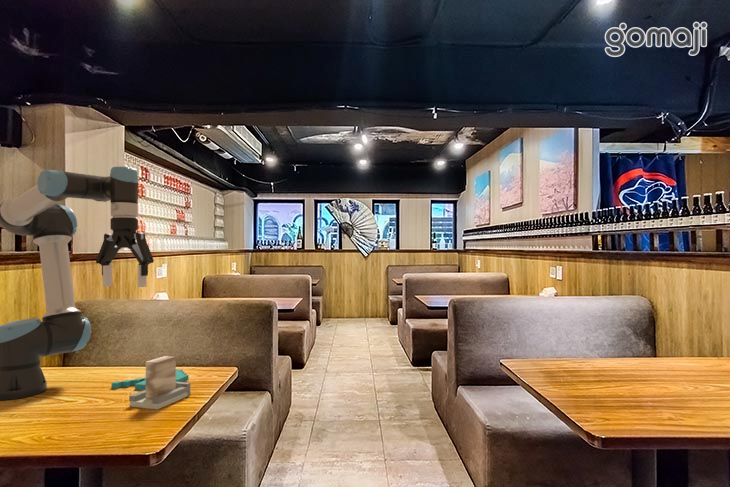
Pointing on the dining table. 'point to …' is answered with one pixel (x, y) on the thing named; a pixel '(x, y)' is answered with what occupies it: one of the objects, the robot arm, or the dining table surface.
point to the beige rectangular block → (160, 376)
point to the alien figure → (141, 383)
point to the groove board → (152, 406)
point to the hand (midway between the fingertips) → (124, 286)
